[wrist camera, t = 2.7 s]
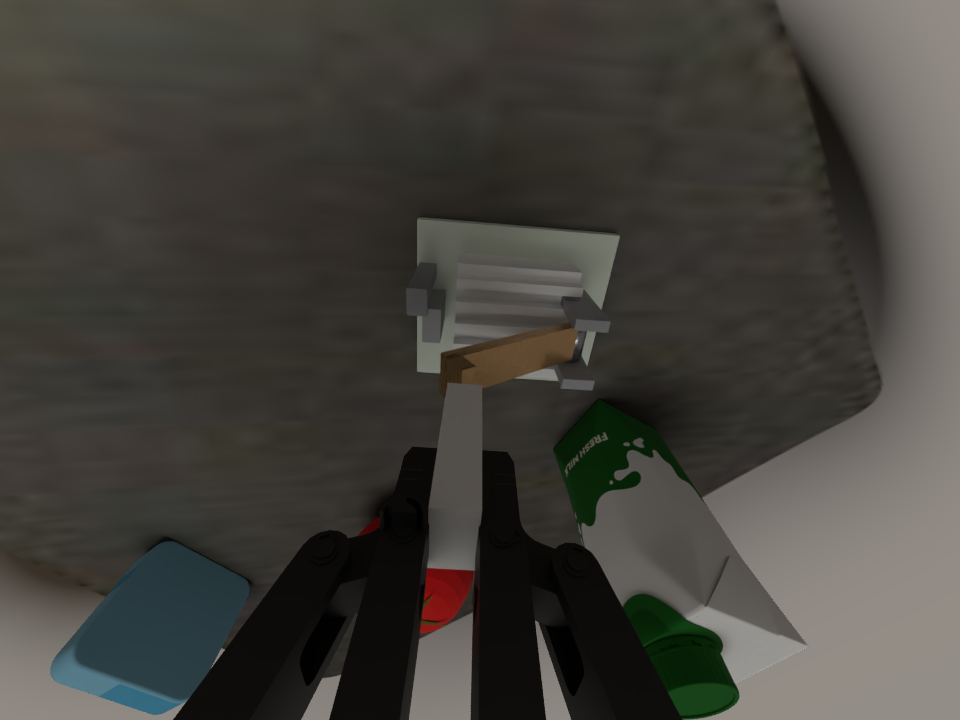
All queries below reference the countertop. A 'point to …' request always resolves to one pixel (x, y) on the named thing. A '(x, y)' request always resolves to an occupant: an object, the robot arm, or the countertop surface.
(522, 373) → the wooden bar
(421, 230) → the base
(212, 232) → the countertop surface
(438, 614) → the tomato
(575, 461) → the milk carton
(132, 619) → the light blue flat block
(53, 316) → the countertop surface
